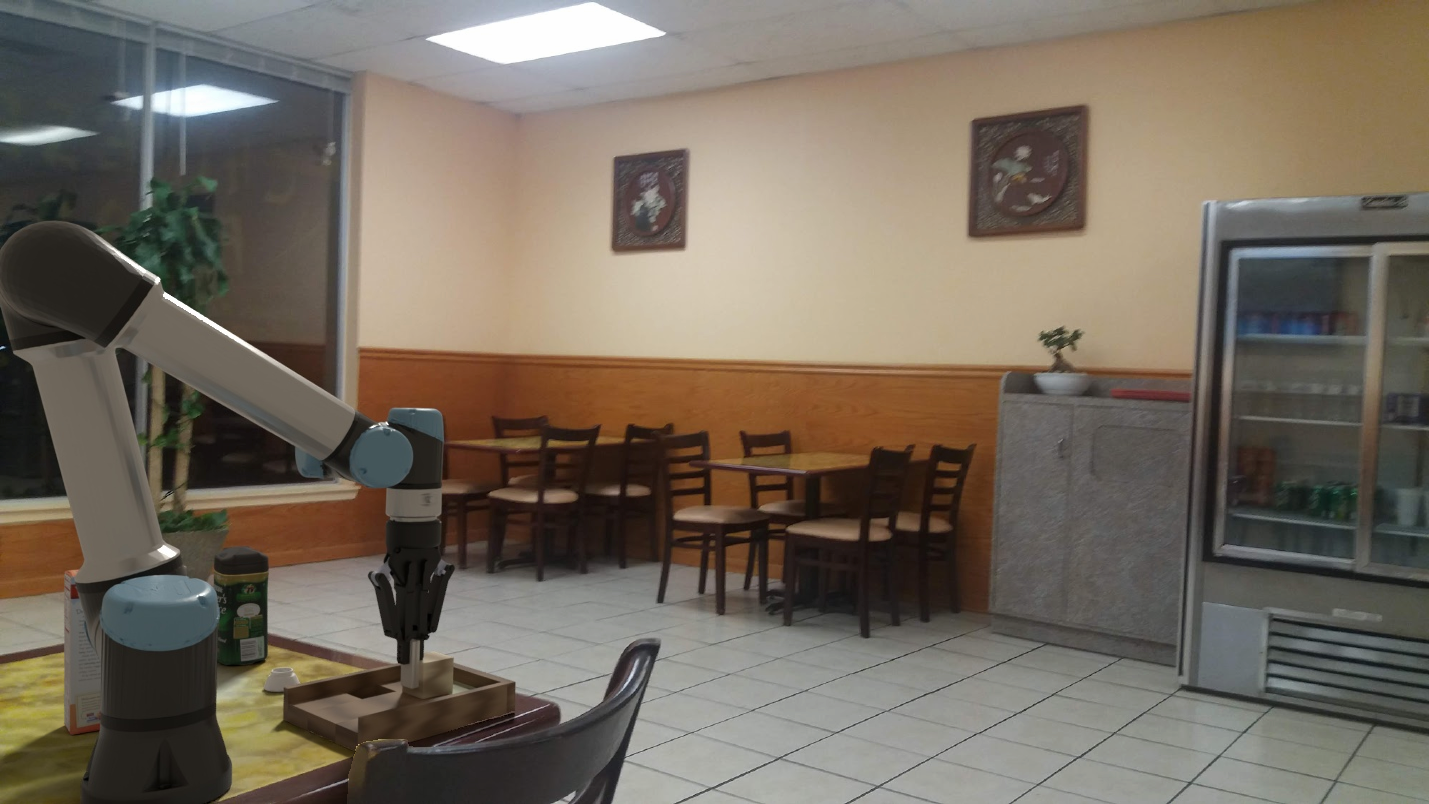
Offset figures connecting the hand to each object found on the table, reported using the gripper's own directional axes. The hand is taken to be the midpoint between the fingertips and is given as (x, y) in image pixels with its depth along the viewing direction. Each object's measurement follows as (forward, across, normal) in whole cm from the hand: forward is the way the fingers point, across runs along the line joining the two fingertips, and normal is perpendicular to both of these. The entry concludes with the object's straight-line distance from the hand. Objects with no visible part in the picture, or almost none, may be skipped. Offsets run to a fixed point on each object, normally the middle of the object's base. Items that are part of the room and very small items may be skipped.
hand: (409, 685), depth 151 cm
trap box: (+4, -2, 0) cm, 5 cm away
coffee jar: (+4, -3, +45) cm, 45 cm away
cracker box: (+5, -28, +24) cm, 37 cm away
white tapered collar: (+4, -6, +24) cm, 26 cm away
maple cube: (+2, +3, 0) cm, 3 cm away
